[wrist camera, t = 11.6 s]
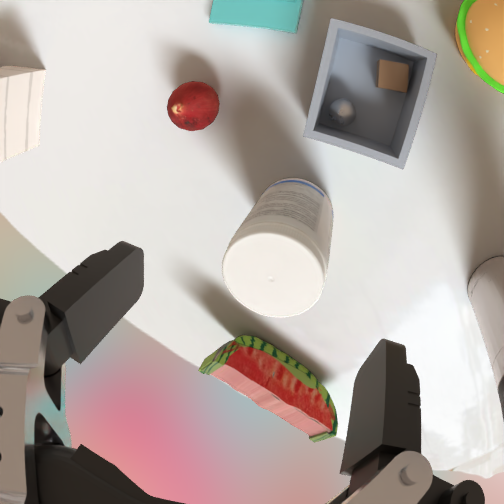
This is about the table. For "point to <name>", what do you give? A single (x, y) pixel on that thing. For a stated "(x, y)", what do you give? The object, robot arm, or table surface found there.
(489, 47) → the hamburger
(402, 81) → the walnut block
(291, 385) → the fruit slice
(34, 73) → the pizza boxes
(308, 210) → the supplement tub
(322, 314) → the table surface
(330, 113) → the grey ball
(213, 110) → the red round fruit
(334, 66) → the tub
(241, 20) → the lid
